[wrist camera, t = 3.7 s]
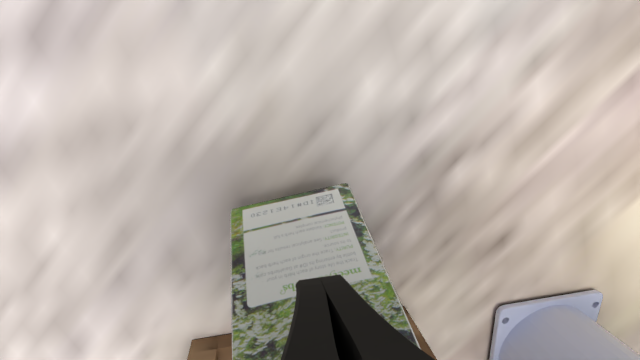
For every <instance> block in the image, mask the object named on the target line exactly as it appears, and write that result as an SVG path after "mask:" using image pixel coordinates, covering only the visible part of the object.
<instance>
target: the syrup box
mask: <svg viewBox="0 0 640 360" xmlns="http://www.w3.org/2000/svg"><path fill="white" fill-rule="evenodd" d="M230 228H231V312H232V360H281V357H282V354H283V350H284V347H285V344H286V341H287V338H288V334H289V331H290V327H291V322H292V318H293V314H294V308H295V302H296V283H297V282H298V281H299V280H304V279H311V278H318V277H325V276H333V275H341V276H342V277H343V278H344V279H345V280H346V281H347V282H348V283H349V284H350V285H351V286H352V287H353V289H354V290H355V291H356V292H357V293H358V294H359V295H360V296H361V297H362V298H363V299H364V300H365V301H366V302H367V303H368V304H369V305H370V306H371V307H372V308H373V309H374V310H375V311H376V312H377V313H379V314H380V315H381V316H382V317H383V318H384V319H385V320H386V321H387V322H388V323H389V324H391V325H392V326H393V327H394V328H395V329H396V330H398V331H399V332H400V333H401V334H402V335H404V336H405V337H406V338H407V339H408V340H410V341H411V342H412V343H413V344H415V345H416V346H417V347H419V348H420V346H419V343H418V341H417V339H416V337H415V334H414V332H413V330H412V328H411V325H410V323H409V321H408V318H407V316H406V314H405V312H404V309H403V307H402V305H401V303H400V300H399V298H398V295H397V293H396V291H395V289H394V287H393V285H392V282H391V280H390V278H389V275H388V273H387V271H386V269H385V266H384V264H383V262H382V260H381V257H380V255H379V253H378V250H377V248H376V246H375V244H374V241H373V239H372V237H371V234H370V232H369V230H368V228H367V226H366V223H365V221H364V219H363V216H362V214H361V212H360V210H359V207H358V205H357V203H356V200H355V198H354V196H353V193H352V191H351V189H350V187H349V185H348V184H346V183H345V184H340V185H336V186H331V187H327V188H323V189H319V190H314V191H310V192H306V193H301V194H297V195H292V196H288V197H283V198H279V199H275V200H270V201H266V202H261V203H256V204H252V205H247V206H243V207H239V208H236V209H232V210H231V212H230ZM420 349H421V348H420Z"/></svg>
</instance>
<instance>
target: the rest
mask: <svg viewBox="0 0 640 360" xmlns="http://www.w3.org/2000/svg"><path fill="white" fill-rule="evenodd" d="M402 307H403V309H404V312H405V314H406V316H407V318H408V321H409V323H410V325H411V328H412V330H413V332H414V334H415V337H416V339H417V341H418V343H419V346H420V348H421V350H422V351H424V352H425V353H427V354H428V355H429V356H431V357H432V358H434V359H435V360H437V359H436V357H435V356H434V354H433V352H432V351H431V349H430V347H429V346H428V344H427V343H426V341H425V339H424V338H423V336H422V334H421V333H420V331H419V330H418V328H417V326H416V325H415V323H414V321H413V320H412V318H411V317H410V315H409V313H408V312H407V310H406V308H405V307H404V306H402ZM187 360H232V334H227V335H221V336H214V337H208V338H202V339H196V340H192V343H191V347H190V351H189V355H188V359H187Z"/></svg>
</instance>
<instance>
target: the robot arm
mask: <svg viewBox="0 0 640 360" xmlns="http://www.w3.org/2000/svg"><path fill="white" fill-rule="evenodd" d="M602 298H603V295H602V293H600V292H599V291H597V290H590V291H584V292H578V293H572V294H566V295H560V296H554V297H548V298H542V299H536V300H530V301H524V302H518V303H512V304H506V305H502V306H500V307H499V308H498V309H497V311H496V317H495V323H494V330H493V337H492V344H491V351H490V358H489V360H640V355H639V354H638V353H637V352H635V351H634V350H633V349H631V348H630V347H628V346H627V345H626V344H624V343H623V342H622V341H620V340H619V339H618V338H616V337H615V336H614V335H612V334H611V333H610V332H608V331H607V330H606V329H604V328H603V327H602V326H600V325H599V324H598V323H596V321H597V317H598V314H599V310H600V306H601V302H602ZM281 360H435V359H434V358H432V357H431V356H429V355H428V354H427V353H425V352H424V351H422V350H421V349H420V348H419V347H417V346H416V345H415V344H413V343H412V342H411V341H410V340H408V339H407V338H406V337H405V336H404V335H402V334H401V333H400V332H399V331H398V330H396V329H395V328H394V327H393V326H392V325H391V324H389V323H388V322H387V321H386V320H385V319H384V318H383V317H382V316H381V315H380V314H379V313H377V312H376V311H375V310H374V309H373V308H372V307H371V306H370V305H369V304H368V303H367V302H366V301H365V300H364V299H363V298H362V297H361V296H360V295H359V294H358V293H357V292H356V291H355V290H354V289H353V287H352V286H351V285H350V284H349V283H348V282H347V281H346V280H345V279H344V278H343V277H342V276H341V275H333V276H325V277H318V278H311V279H304V280H299V281H298V282H297V283H296V302H295V308H294V314H293V318H292V322H291V327H290V331H289V334H288V338H287V341H286V344H285V347H284V350H283V354H282V357H281Z"/></svg>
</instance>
